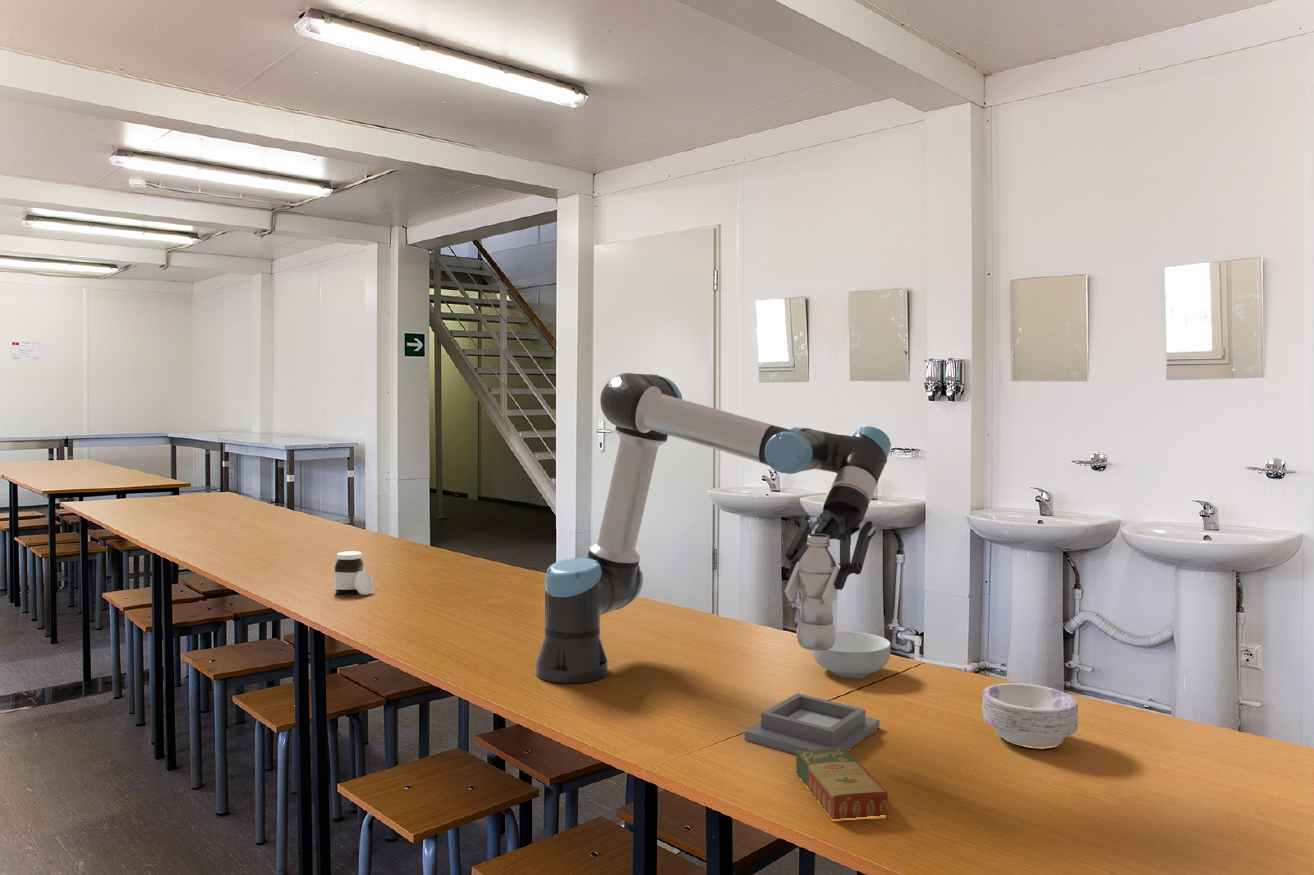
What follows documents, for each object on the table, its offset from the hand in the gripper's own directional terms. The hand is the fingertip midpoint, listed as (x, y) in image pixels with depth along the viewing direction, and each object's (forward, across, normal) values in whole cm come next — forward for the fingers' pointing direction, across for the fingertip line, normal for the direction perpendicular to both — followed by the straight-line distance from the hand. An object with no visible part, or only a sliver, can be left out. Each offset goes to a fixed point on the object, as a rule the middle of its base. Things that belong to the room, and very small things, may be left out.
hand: (807, 599), depth 146 cm
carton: (+29, -14, -7) cm, 32 cm away
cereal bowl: (-11, +10, -46) cm, 49 cm away
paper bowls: (0, -30, -35) cm, 46 cm away
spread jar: (+5, +156, -30) cm, 159 cm away
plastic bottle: (+4, 0, -9) cm, 10 cm away
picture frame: (+15, 0, -20) cm, 25 cm away
